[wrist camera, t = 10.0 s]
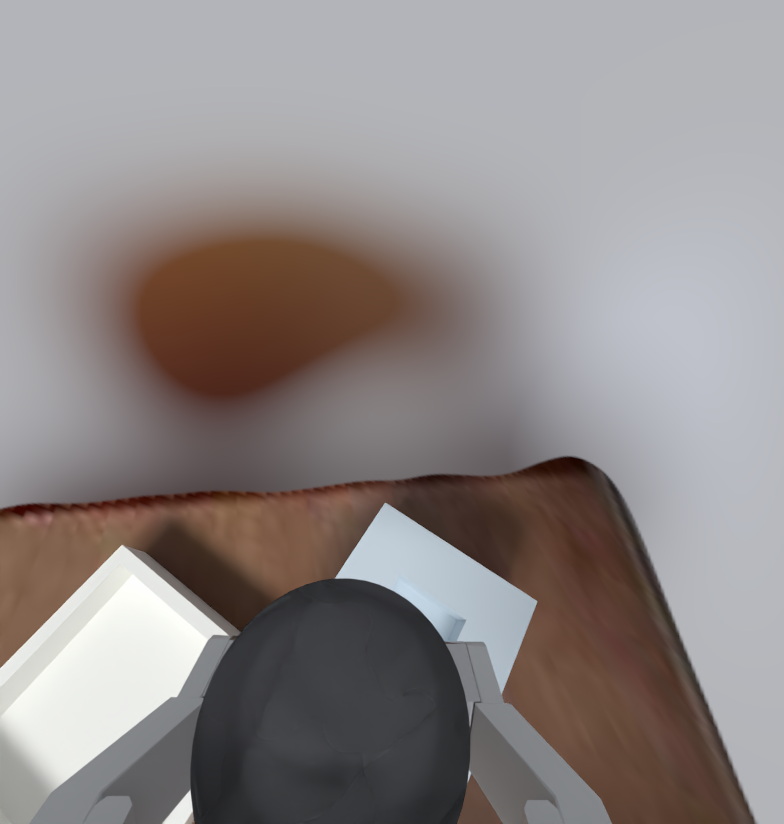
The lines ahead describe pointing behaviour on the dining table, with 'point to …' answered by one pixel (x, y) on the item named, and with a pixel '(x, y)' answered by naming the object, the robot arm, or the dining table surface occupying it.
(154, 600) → the tray
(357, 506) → the dining table surface
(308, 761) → the steel pin
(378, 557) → the socket block
